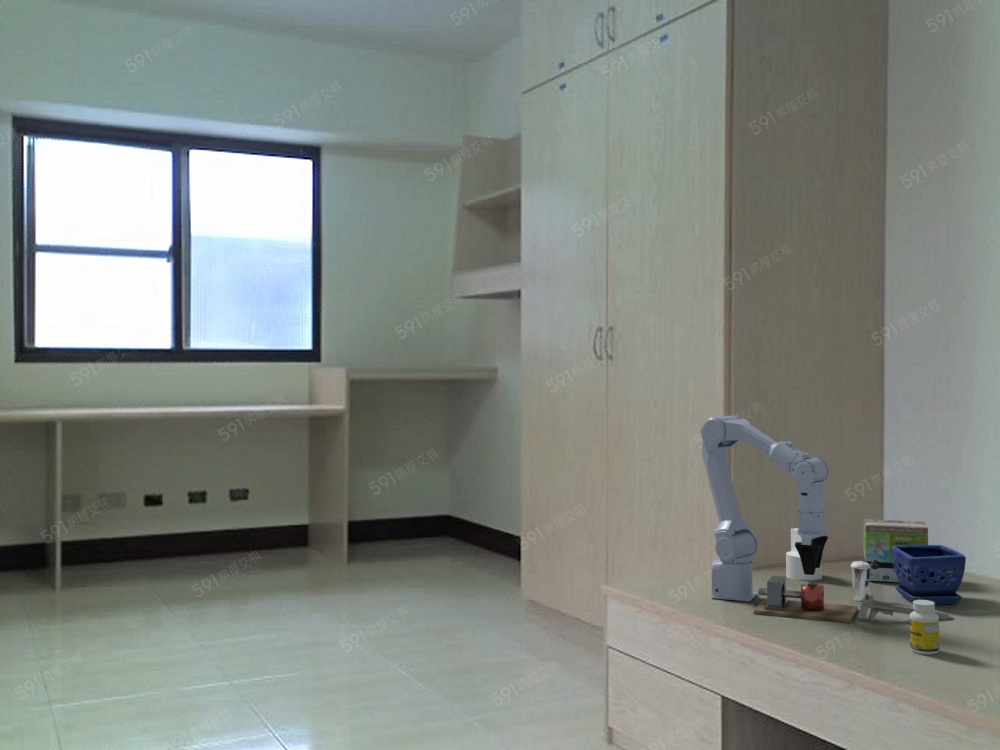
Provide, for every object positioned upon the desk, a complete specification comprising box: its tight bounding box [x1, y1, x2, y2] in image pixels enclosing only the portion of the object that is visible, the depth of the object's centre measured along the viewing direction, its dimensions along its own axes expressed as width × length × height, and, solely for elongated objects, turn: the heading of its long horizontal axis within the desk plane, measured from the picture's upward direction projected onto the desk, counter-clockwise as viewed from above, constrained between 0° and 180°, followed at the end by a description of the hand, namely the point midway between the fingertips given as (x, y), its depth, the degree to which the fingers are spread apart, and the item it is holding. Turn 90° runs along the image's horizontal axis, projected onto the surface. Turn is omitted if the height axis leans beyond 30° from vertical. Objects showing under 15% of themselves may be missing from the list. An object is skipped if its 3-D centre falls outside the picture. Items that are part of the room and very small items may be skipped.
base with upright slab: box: [785, 527, 823, 582], centre depth 269 cm, size 9×9×12 cm
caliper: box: [859, 594, 955, 623], centre depth 225 cm, size 20×1×6 cm, turn 92°
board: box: [753, 597, 859, 624], centre depth 234 cm, size 21×12×1 cm, turn 64°
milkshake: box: [850, 559, 874, 602], centre depth 243 cm, size 5×5×10 cm
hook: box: [758, 581, 825, 610], centre depth 235 cm, size 14×5×6 cm, turn 64°
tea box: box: [863, 518, 929, 583], centre depth 264 cm, size 15×10×15 cm, turn 73°
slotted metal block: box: [765, 575, 789, 611], centre depth 237 cm, size 4×8×6 cm, turn 154°
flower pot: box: [891, 544, 967, 606], centre depth 242 cm, size 13×13×12 cm
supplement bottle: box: [909, 600, 940, 656], centre depth 202 cm, size 5×5×10 cm
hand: (812, 571), depth 233 cm, fingers open, 7 cm apart
